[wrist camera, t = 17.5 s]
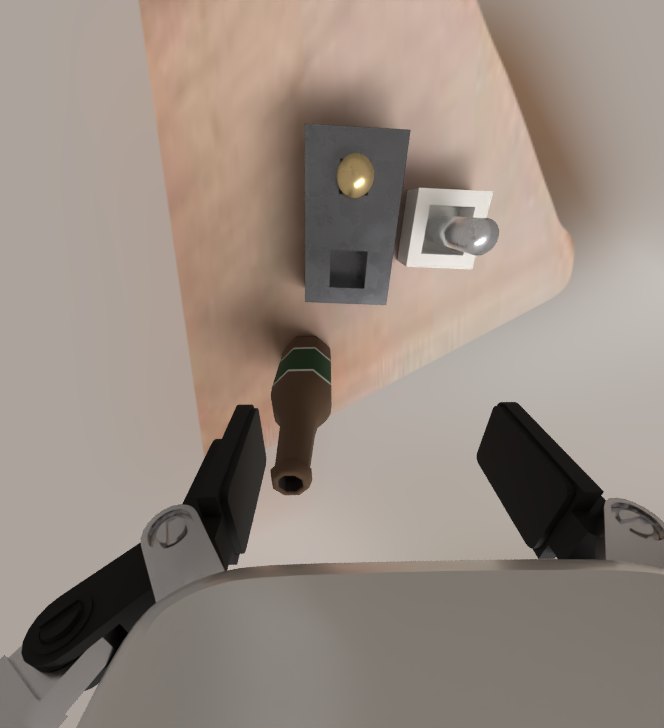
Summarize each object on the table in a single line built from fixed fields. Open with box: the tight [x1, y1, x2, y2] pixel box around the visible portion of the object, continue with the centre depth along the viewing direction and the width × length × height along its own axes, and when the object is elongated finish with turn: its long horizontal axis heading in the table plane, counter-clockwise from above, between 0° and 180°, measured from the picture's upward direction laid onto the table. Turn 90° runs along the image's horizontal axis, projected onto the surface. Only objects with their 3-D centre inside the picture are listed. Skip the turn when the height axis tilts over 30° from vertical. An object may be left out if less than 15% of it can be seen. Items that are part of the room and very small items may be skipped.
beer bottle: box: [271, 336, 331, 495], centre depth 34 cm, size 8×8×24 cm
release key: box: [337, 153, 374, 198], centre depth 30 cm, size 4×4×6 cm
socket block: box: [305, 124, 410, 305], centre depth 33 cm, size 17×10×6 cm, turn 177°
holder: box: [397, 188, 493, 269], centre depth 34 cm, size 8×8×5 cm
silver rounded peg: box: [425, 216, 499, 255], centre depth 30 cm, size 3×3×12 cm
